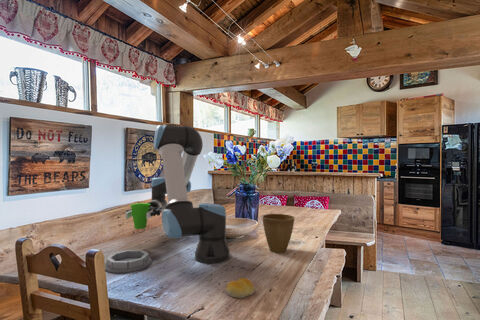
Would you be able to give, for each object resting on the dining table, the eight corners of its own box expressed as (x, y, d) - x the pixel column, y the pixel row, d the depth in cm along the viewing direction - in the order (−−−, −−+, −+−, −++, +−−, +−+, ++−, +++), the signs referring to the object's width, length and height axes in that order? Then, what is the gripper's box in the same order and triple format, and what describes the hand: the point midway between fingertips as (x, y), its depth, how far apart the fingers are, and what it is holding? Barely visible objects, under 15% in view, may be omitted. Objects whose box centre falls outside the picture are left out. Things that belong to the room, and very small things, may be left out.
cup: (138, 231, 130) (138, 206, 130) (126, 228, 134) (126, 205, 134) (154, 227, 137) (154, 204, 137) (141, 225, 142) (141, 202, 142)
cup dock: (159, 264, 116) (159, 256, 116) (113, 277, 104) (113, 267, 104) (139, 254, 129) (139, 246, 129) (97, 264, 117) (97, 255, 117)
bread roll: (221, 291, 93) (221, 279, 93) (245, 284, 98) (245, 273, 98) (234, 302, 86) (234, 288, 86) (259, 294, 91) (259, 282, 91)
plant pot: (282, 258, 124) (282, 221, 124) (255, 251, 134) (255, 216, 134) (300, 250, 135) (300, 216, 135) (274, 244, 145) (274, 212, 145)
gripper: (173, 214, 153) (160, 224, 131) (132, 214, 154) (113, 224, 131) (173, 200, 153) (160, 207, 131) (132, 200, 154) (113, 207, 132)
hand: (136, 215), depth 131 cm, fingers closed on cup, 9 cm apart
